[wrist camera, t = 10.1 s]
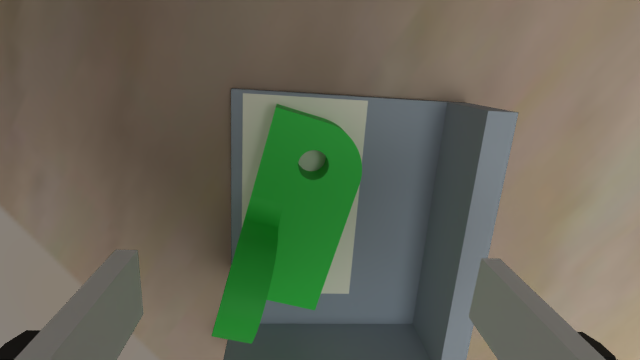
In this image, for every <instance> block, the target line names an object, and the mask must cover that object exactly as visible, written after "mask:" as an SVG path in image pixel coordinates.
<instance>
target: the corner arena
mask: <svg viewBox="0 0 640 360" xmlns="http://www.w3.org/2000/svg"><path fill="white" fill-rule="evenodd" d="M277 104H279V105H282V106H286V107H289V108H292V109H295V110H299V111H302V112H305V113H308V114H312V115H315V116H318V117H321V118H325V119H327V120H330V121H332V122H334V123H335V124H337V125H338V126H339V127H341V128H342V129H343V130H344V131H345V132H346V133H347V135H348V136H349V137H350V138H351V139H352V140H353V142H354V143H355V145H356V147H357V149H358V151H359V154H360V157H361V162H362V176H361V181H360V185H359V187H358V190H357V193H356V196H355V199H354V202H353V204H352V207H351V210H350V213H349V216H348V218H347V221H346V224H345V227H344V230H343V233H342V235H341V238H340V241H339V244H338V247H337V249H336V252H335V255H334V258H333V261H332V264H331V266H330V269H329V272H328V275H327V278H326V280H325V283H324V286H323V289H322V292H321V295H320V297H319V300H318V303H317V306H316V309H315V310H311V309H306V308H301V307H297V306H292V305H288V304H283V303H279V302H274V301H270V300H266V304H265V307H264V311H263V314H262V318H261V321H260V324H259V327H258V330H257V333H256V336H255V338H254V340H253V342H252V344H249V343H244V342H239V341H234V340H229V339H228V341H227V346H226V350H225V355H224V359H223V360H466V358H467V353H468V348H469V344H470V339H471V334H472V329H473V325H474V324H473V323H472V321H471V320H470V318H469V312H470V308H471V303H472V299H473V294H474V290H475V285H476V281H477V276H478V272H479V267H480V262H481V258H488V254H489V249H490V244H491V240H492V235H493V230H494V225H495V221H496V216H497V211H498V207H499V202H500V197H501V192H502V188H503V183H504V178H505V173H506V169H507V164H508V159H509V155H510V150H511V145H512V140H513V136H514V131H515V126H516V121H517V117H518V112H512V111H507V110H502V109H496V108H491V107H486V106H480V105H475V104H470V103H461V102H445V101H429V100H413V99H397V98H381V97H365V96H349V95H333V94H316V93H300V92H284V91H268V90H252V89H236V88H232V89H231V265H232V261H233V258H234V254H235V251H236V247H237V244H238V240H239V237H240V233H241V230H242V226H243V223H244V219H245V216H246V212H247V209H248V205H249V201H250V198H251V194H252V191H253V187H254V183H255V180H256V176H257V173H258V169H259V166H260V162H261V158H262V155H263V151H264V148H265V144H266V140H267V137H268V133H269V130H270V126H271V123H272V119H273V115H274V112H275V108H276V105H277ZM325 159H326V156H325V155H324V154H323V153H322V152H320V151H317V150H311V151H308V152H306V153H304V154H303V155H302V156H301V158H300V159H299V162H298V163H299V165H300V166H301V167H302V168H303V169H304V170H306V171H316V170H318V169H320V168H321V167H322V166H323V165H324V163H325Z"/></svg>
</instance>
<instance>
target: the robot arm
mask: <svg viewBox="0 0 640 360" xmlns="http://www.w3.org/2000/svg"><path fill="white" fill-rule="evenodd" d="M142 315H143V305H142V294H141V282H140V271H139V260H138V250H115V251H114V252H113V253H112V254H111V255H110V256H109V257H108V259H107V260H106V261H105V262H104V263H103V264H102V265H101V266H100V267H99V268H98V269H97V270H96V272H95V273H94V274H93V275H92V276H91V277H90V278H89V279H88V280H87V281H86V282H85V283H84V285H83V286H82V287H81V288H80V289H79V290H78V291H77V292H76V293H75V294H74V295H73V296H72V297H71V299H70V300H69V301H68V302H67V303H66V304H65V305H64V306H63V307H62V308H61V310H59V312H58V313H57V314H56V315H55V316H54V317H53V318H52V319H51V320H50V321H49V322H48V324H46V326H45V327H44V328H43V329H42V330H41V331H28V330H26V331H25V332H23V333H21V334H20V335H18V336H17V337H15V338H13V339H12V340H10V341H9V342H7V343H5V344H4V345H3V346H2V347H1V348H0V360H117V358H118V356H119V355H120V353H121V351H122V350H123V348H124V346H125V345H126V343H127V341H128V339H129V338H130V336H131V334H132V333H133V331H134V329H135V327H136V326H137V324H138V322H139V321H140V319H141V317H142ZM469 318H470V320H471V321H472V323H473V324H474V325H475V327H476V328H477V330H478V331H479V333H480V334H481V336H482V337H483V338H484V340H485V341H486V343H487V344H488V346H489V347H490V349H491V350H492V352H493V353H494V354H495V356H496V357H497V359H498V360H616V358H615V356H614V355H613V354H612V353H611V352H609V351H608V350H607V349H606V348H605V347H604V346H603V345H602V344H601V343H599V342H597V341H596V340H594V339H593V338H591V337H589V336H588V335H586V334H585V333H583V332H576V331H575V330H574V329H573V328H572V327H571V326H570V325H569V324H568V323H567V322H566V321H565V320H564V319H563V318H562V317H561V316H559V315H558V314H557V313H556V312H555V311H554V310H553V309H552V308H551V307H550V306H549V305H548V304H547V303H546V302H545V301H544V300H543V299H542V298H541V297H540V296H538V295H537V294H536V293H535V292H534V291H533V290H532V289H531V288H530V287H529V286H528V285H527V284H526V283H525V282H524V281H523V280H522V279H521V278H520V277H518V276H517V275H516V274H515V273H514V272H513V271H512V270H511V269H510V268H509V267H508V266H507V265H506V264H505V263H504V262H503V261H502V260H501V259H491V258H481V262H480V267H479V272H478V276H477V281H476V285H475V290H474V294H473V299H472V303H471V308H470V312H469Z"/></svg>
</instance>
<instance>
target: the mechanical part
mask: <svg viewBox="0 0 640 360" xmlns="http://www.w3.org/2000/svg"><path fill="white" fill-rule="evenodd" d="M311 150H317V151H320V152H322V153H323V154H324V155H325V156H326V159H325V163H324V165H323V166H322V167H321V168H320V169H318V170H316V171H306V170H304V169H303V168H302V167H301V166H300V165H299V163H298V162H299V159H300V158H301V156H302V155H303V154H304V153H306V152H308V151H311ZM361 176H362V162H361V157H360V154H359V151H358V149H357V147H356V145H355V143H354V142H353V140H352V139H351V138H350V137H349V136H348V135H347V133H346V132H345V131H344V130H343V129H342V128H341V127H339V126H338V125H337V124H335V123H334V122H332V121H330V120H327V119H325V118H321V117H318V116H315V115H312V114H308V113H305V112H302V111H299V110H295V109H292V108H289V107H286V106H282V105H279V104H277V105H276V108H275V112H274V115H273V119H272V123H271V126H270V130H269V133H268V137H267V140H266V144H265V148H264V151H263V155H262V158H261V162H260V166H259V169H258V173H257V176H256V180H255V183H254V187H253V191H252V194H251V198H250V201H249V205H248V209H247V212H246V216H245V219H244V223H243V226H242V230H241V233H240V237H239V240H238V244H237V247H236V251H235V254H234V258H233V261H232V265H231V268H230V272H229V275H228V279H227V283H226V286H225V290H224V293H223V297H222V300H221V304H220V308H219V311H218V315H217V318H216V322H215V326H214V329H213V333H212V336H214V337H219V338H224V339H229V340H234V341H239V342H244V343H249V344H252V342H253V340H254V338H255V336H256V333H257V330H258V327H259V324H260V321H261V318H262V314H263V311H264V307H265V304H266V300H270V301H274V302H279V303H283V304H288V305H292V306H297V307H301V308H306V309H311V310H315V309H316V306H317V303H318V300H319V297H320V295H321V292H322V289H323V286H324V283H325V280H326V278H327V275H328V272H329V269H330V266H331V264H332V261H333V258H334V255H335V252H336V249H337V247H338V244H339V241H340V238H341V235H342V233H343V230H344V227H345V224H346V221H347V218H348V216H349V213H350V210H351V207H352V204H353V202H354V199H355V196H356V193H357V190H358V187H359V185H360V181H361Z"/></svg>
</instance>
